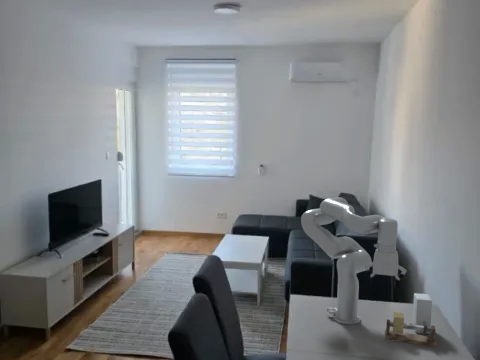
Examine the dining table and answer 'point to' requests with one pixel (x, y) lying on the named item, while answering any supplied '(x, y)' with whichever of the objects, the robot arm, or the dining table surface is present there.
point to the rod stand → (412, 337)
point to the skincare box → (422, 310)
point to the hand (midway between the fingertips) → (384, 286)
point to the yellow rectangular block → (398, 322)
